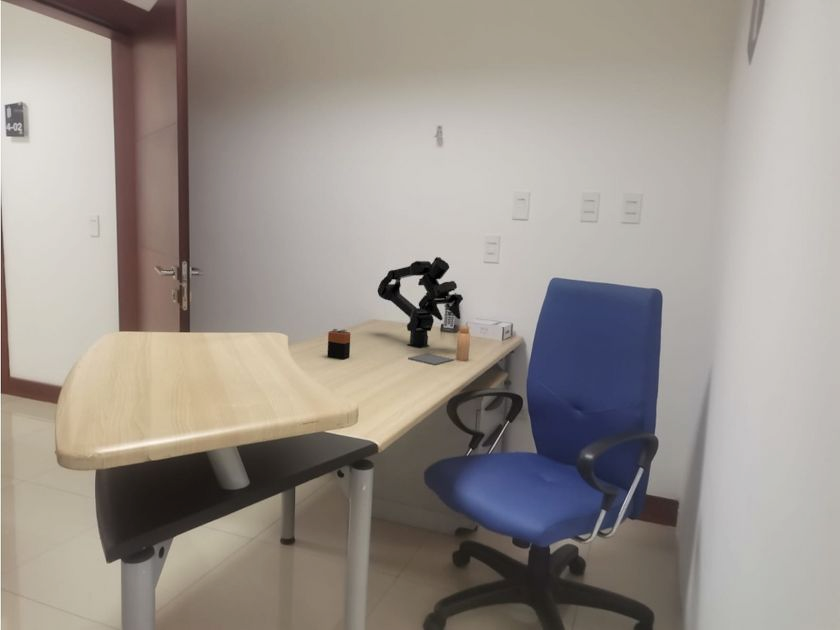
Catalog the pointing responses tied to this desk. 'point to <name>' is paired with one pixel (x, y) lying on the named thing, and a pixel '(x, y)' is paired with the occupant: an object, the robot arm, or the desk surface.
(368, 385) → the desk surface
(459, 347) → the peach capped bottle
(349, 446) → the desk surface
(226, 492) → the desk surface
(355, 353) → the desk surface
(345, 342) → the battery
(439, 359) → the mat
